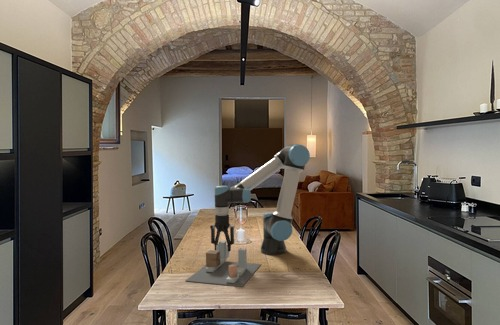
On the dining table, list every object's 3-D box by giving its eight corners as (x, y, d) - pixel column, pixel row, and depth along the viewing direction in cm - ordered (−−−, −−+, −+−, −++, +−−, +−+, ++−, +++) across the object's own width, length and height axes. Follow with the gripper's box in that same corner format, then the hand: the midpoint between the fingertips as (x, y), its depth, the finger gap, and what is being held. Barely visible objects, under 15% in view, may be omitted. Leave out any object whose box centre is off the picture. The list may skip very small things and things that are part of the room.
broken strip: (239, 268, 190) (239, 248, 189) (247, 268, 189) (247, 248, 188) (225, 282, 170) (225, 260, 170) (234, 283, 169) (233, 260, 168)
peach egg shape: (230, 274, 176) (230, 263, 176) (238, 275, 175) (238, 264, 175) (227, 277, 172) (227, 266, 172) (235, 277, 171) (235, 267, 171)
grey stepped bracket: (220, 259, 205) (220, 240, 204) (227, 259, 204) (227, 241, 203) (205, 271, 185) (205, 251, 185) (213, 272, 184) (212, 251, 184)
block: (210, 263, 193) (210, 249, 193) (220, 264, 192) (220, 250, 191) (206, 266, 188) (205, 252, 188) (216, 267, 186) (216, 253, 186)
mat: (211, 260, 205) (211, 260, 205) (261, 264, 197) (261, 264, 197) (185, 281, 174) (185, 280, 174) (242, 286, 166) (242, 286, 166)
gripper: (203, 215, 201) (204, 257, 202) (235, 216, 196) (236, 260, 197) (209, 212, 208) (210, 253, 209) (240, 213, 203) (240, 255, 204)
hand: (222, 256), depth 203 cm, fingers open, 5 cm apart
